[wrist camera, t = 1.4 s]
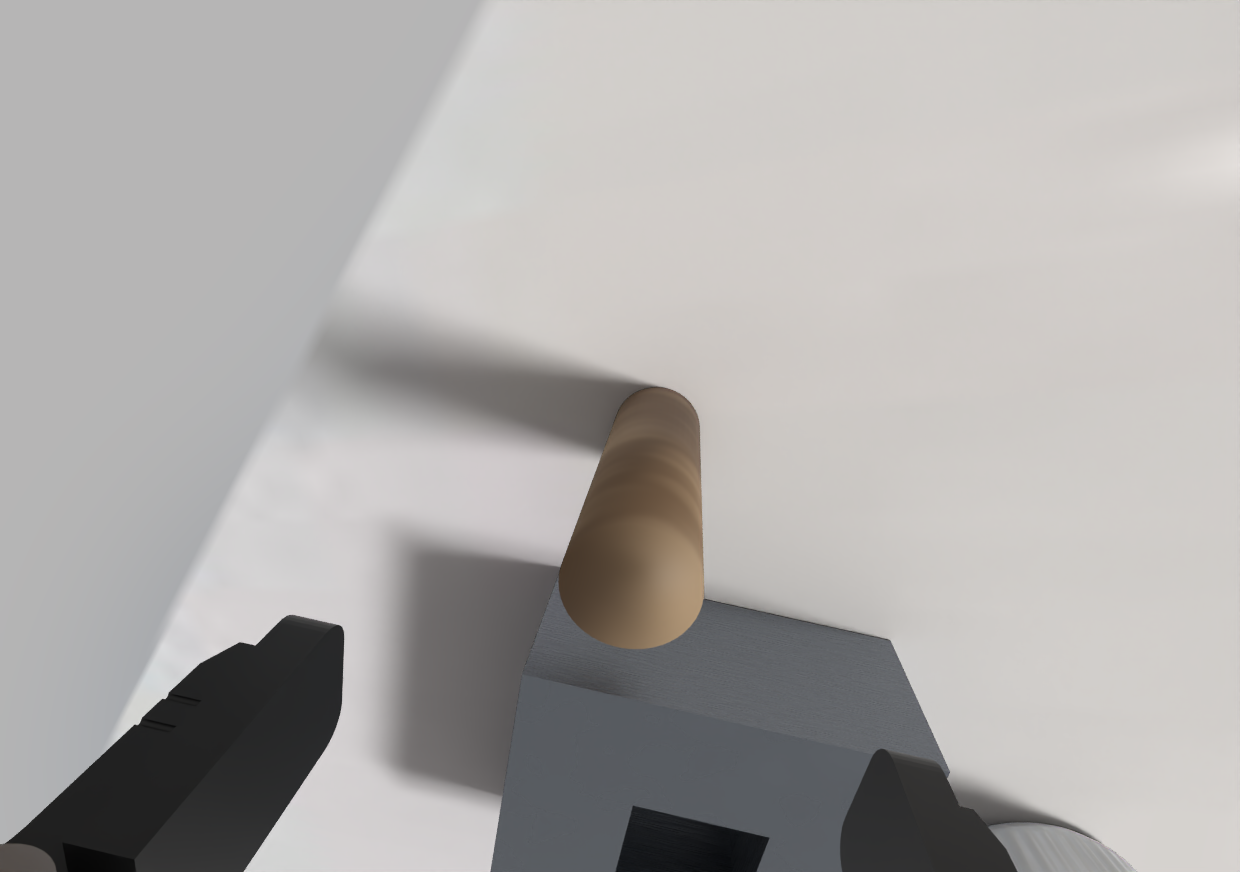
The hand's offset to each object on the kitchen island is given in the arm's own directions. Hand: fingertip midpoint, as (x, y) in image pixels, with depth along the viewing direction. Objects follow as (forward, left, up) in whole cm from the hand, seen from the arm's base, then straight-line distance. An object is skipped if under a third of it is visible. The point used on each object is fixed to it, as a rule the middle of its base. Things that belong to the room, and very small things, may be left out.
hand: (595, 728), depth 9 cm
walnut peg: (0, 0, -14) cm, 14 cm away
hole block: (-4, +13, -14) cm, 19 cm away
